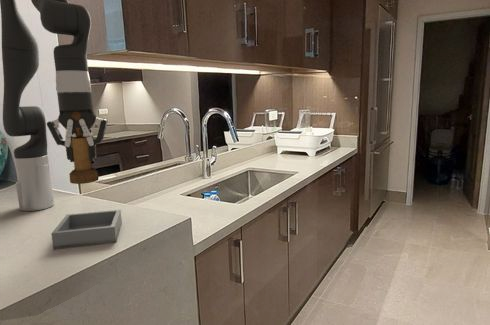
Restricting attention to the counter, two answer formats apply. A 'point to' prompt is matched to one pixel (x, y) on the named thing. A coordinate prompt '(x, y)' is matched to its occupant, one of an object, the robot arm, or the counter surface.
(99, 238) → the tray
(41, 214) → the counter surface
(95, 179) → the turned wooden knob
